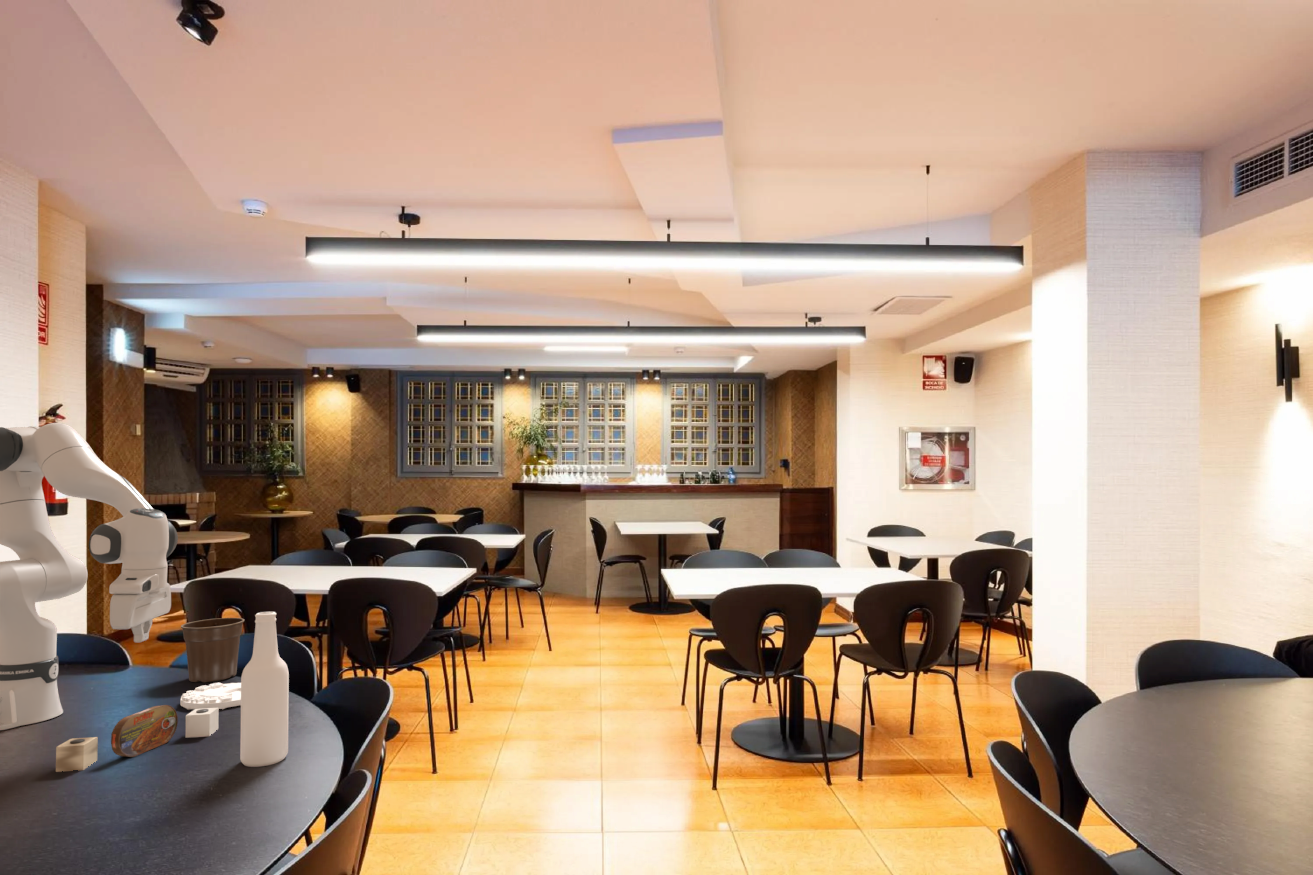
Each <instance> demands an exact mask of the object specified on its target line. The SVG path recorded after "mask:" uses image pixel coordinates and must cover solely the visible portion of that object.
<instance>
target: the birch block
mask: <svg viewBox="0 0 1313 875" xmlns="http://www.w3.org/2000/svg"><path fill="white" fill-rule="evenodd" d="M98 738H99V737H98V736H93V737H91V736H89V737H76V738H75V737H74V738H72V737H71V738H69V739H68V740H66V741H64V742H63V743H61V744H59V745H57V746H56V747H55V772H56V773H62V771H63V772H74V771H73V770H78V771H85V770H86V769H87V768H89V767H90V766H92V765H93V763H94V762H95V763H96V761H97V762H98V748H99V747H98V746H99V744H98V743H99V741H98ZM95 763H94V764H95ZM91 764H92V765H91ZM88 766H89V767H88Z"/></svg>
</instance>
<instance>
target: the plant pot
mask: <svg viewBox="0 0 1313 875" xmlns="http://www.w3.org/2000/svg"><path fill="white" fill-rule="evenodd" d="M244 622H245V619H244V618H242V617H222V618H209V619H202V620H196V621H191V622H186V623H183V624H181V625H180V629H182V634H183V640H184V642H185V648H186V649H185V650H186V660H187V670H188V681H190V682H192V683H198V682H202V683H211V682H213V683H215V682H218V681H219V682H220V681H223V680H228V679H230V678H231V677H235V676H236V675H237V672H238V671H237V670H238V661H239V651H240V650H239V649H240V640H241V634H242V631H243V623H244Z"/></svg>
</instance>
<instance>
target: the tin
mask: <svg viewBox="0 0 1313 875" xmlns="http://www.w3.org/2000/svg"><path fill="white" fill-rule="evenodd" d="M178 718H179V716H178V713H177V711H176V709H175V708H174V707H173V706H172V705H170V704H169V705H168V704H163V705H154V706H151V707H148V708H146V709H144V710H142V711H137V712H136V713H133V714H130V715H127V716H125V717H123V718H121V719H120V720H119V721H118V722H117V723H116V725H114V727H113V729H112V731H111V736H110V744H111V745H110V746H111V750H112V752H113V753H114V754H115V755H117V756H118V757H123V758H124V757H125V758H126V757H127V758H134V757H137V756H139V755H142V754H144V753H146V752H149V751H151V750H153V749H156V748H158V747H160V746H163V745H165V744H167V743H168V742H169V741H170V740H172V738H173V737H174V735H175V733H176V731H177V727H178V722H179V719H178Z"/></svg>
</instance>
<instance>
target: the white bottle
mask: <svg viewBox="0 0 1313 875" xmlns="http://www.w3.org/2000/svg"><path fill="white" fill-rule="evenodd" d="M254 617H255V620H254V623H255V626H254V627H255V628H254V638H253V646H252V647H253V648H252V655H251V658H250V660H249V661H248V663H247V664H246V665H245V667H244V668H243V670H242V673H241V677H240V683H241V705H240V743H239V744H240V751H239V753H240V756H239V758H240V762H241V763H242V764H243V765H244V766H245V767H249V768H259V767H260V768H261V767H265V766H271V765H274V764H277V763H281V762H282V761H283V760H285V758H286V757H287V755H288V753H289V706H290V705H289V704H290V703H289V699H290V697H289V694H290V692H289V691H290V690H289V689H290V688H289V687H290V686H289V685H290V684H289V683H290V679H289V678H290V674H289V668H288V664H287V663H286V661H285V660H283V658H281V657H280V654H279V649H278V648H279V646H278V637H277V636H278V635H277V623H276V622H277V618H276V617H277V612H276V611H260V612H257V613H256V614H254Z"/></svg>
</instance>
